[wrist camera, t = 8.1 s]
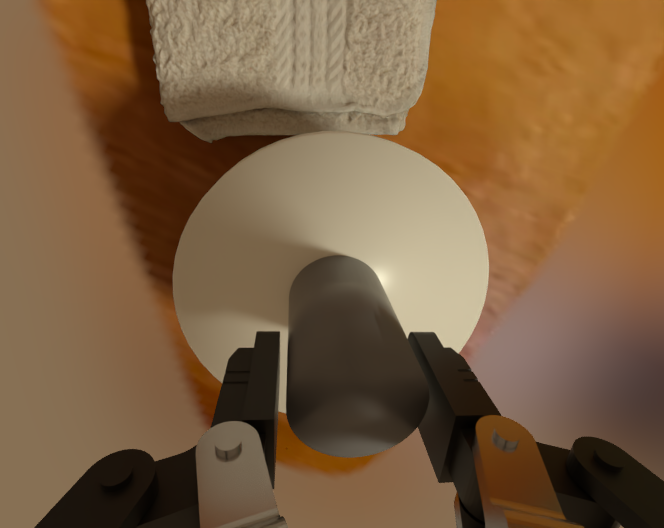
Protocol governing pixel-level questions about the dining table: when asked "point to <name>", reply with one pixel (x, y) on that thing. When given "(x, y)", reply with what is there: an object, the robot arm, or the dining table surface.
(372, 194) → the lid
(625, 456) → the robot arm
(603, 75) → the dining table surface
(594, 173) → the dining table surface
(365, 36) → the washcloth
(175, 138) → the dining table surface
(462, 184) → the dining table surface
